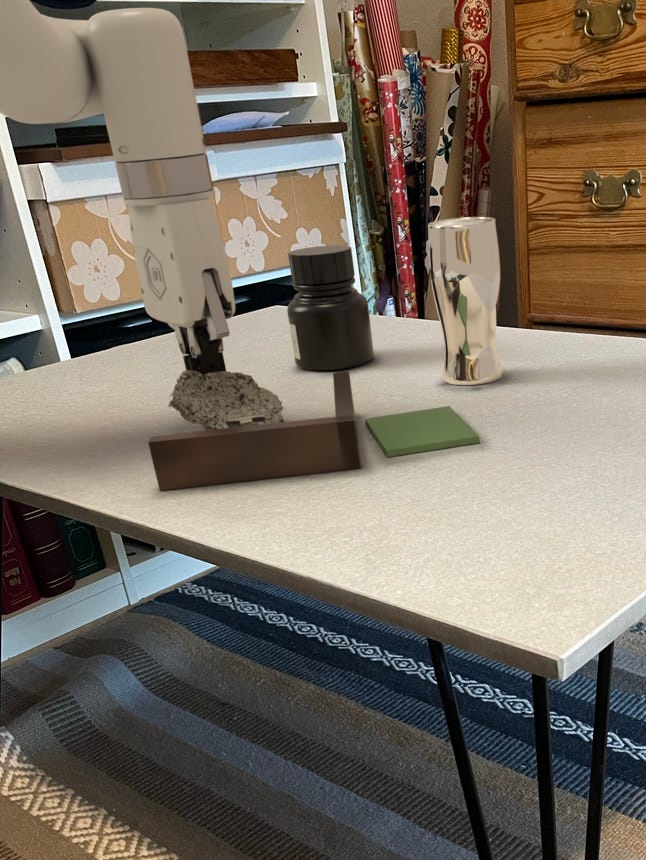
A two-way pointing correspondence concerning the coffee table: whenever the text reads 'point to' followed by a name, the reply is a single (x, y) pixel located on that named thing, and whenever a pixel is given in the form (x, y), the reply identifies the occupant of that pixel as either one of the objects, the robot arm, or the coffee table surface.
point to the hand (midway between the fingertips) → (211, 396)
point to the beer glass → (466, 296)
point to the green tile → (421, 431)
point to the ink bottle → (327, 310)
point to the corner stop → (261, 448)
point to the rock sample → (224, 400)
